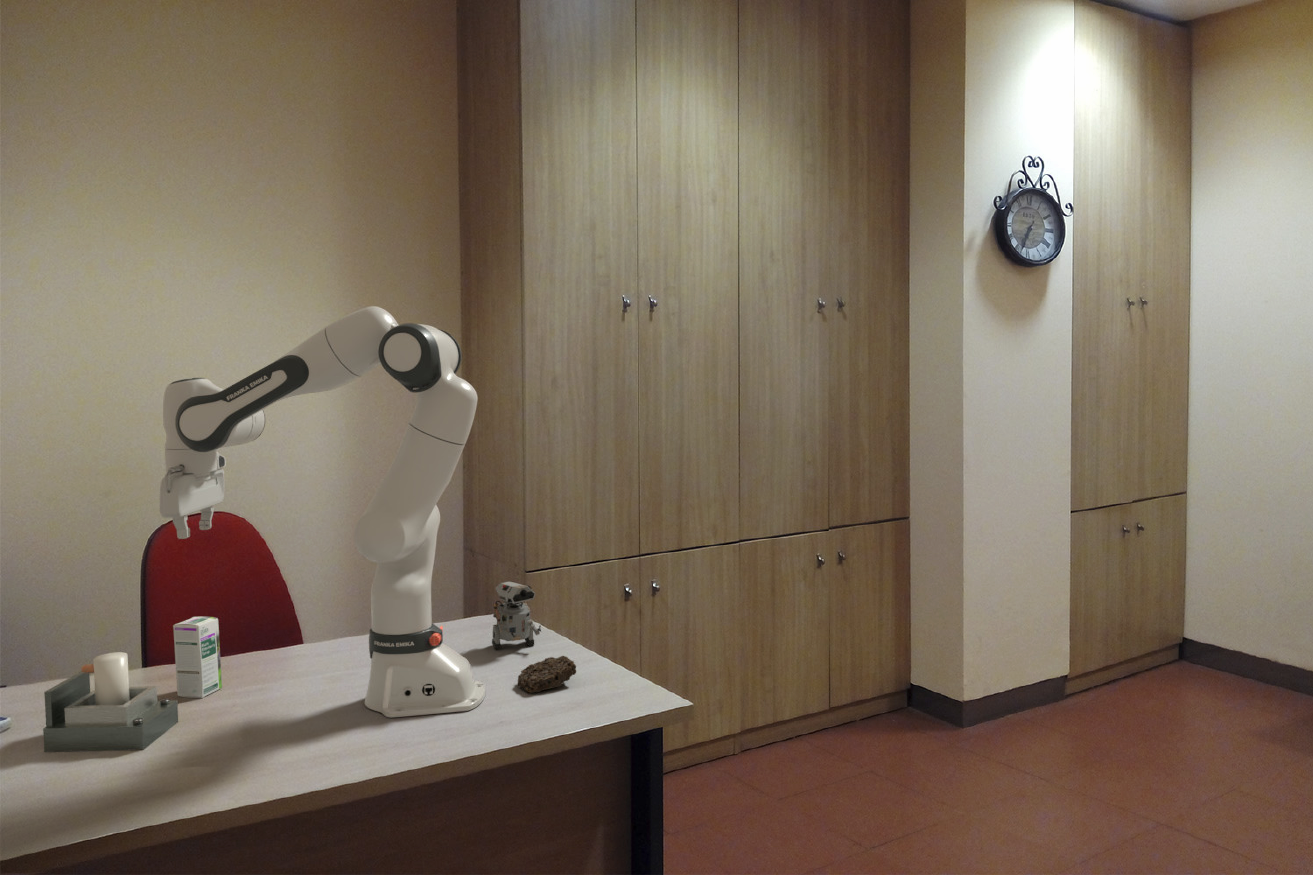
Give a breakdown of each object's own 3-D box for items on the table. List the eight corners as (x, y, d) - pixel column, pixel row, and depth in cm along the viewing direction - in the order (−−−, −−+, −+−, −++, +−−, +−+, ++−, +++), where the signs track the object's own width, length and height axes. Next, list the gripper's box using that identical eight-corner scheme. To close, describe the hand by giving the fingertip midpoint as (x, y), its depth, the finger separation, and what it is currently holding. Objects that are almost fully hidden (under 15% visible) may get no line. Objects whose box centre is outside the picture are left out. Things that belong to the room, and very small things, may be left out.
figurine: (501, 658, 197) (500, 591, 196) (490, 643, 208) (489, 579, 207) (541, 653, 201) (541, 587, 199) (529, 639, 211) (528, 576, 210)
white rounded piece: (135, 707, 158) (133, 651, 157) (120, 718, 153) (117, 661, 152) (92, 708, 157) (89, 652, 157) (75, 719, 152) (72, 661, 152)
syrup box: (202, 698, 173) (199, 624, 172) (175, 696, 174) (172, 623, 173) (222, 688, 179) (219, 616, 178) (196, 686, 180) (193, 615, 179)
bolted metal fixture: (178, 721, 162) (175, 667, 161) (143, 749, 150) (140, 691, 149) (86, 723, 161) (84, 669, 160) (44, 751, 149) (41, 693, 148)
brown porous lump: (565, 673, 188) (565, 649, 187) (581, 688, 178) (580, 664, 178) (511, 681, 183) (511, 656, 183) (524, 697, 174) (524, 671, 174)
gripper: (183, 468, 163) (187, 543, 164) (229, 457, 183) (232, 524, 184) (147, 468, 163) (151, 544, 164) (197, 457, 183) (200, 525, 184)
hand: (195, 533), depth 174 cm, fingers open, 8 cm apart
